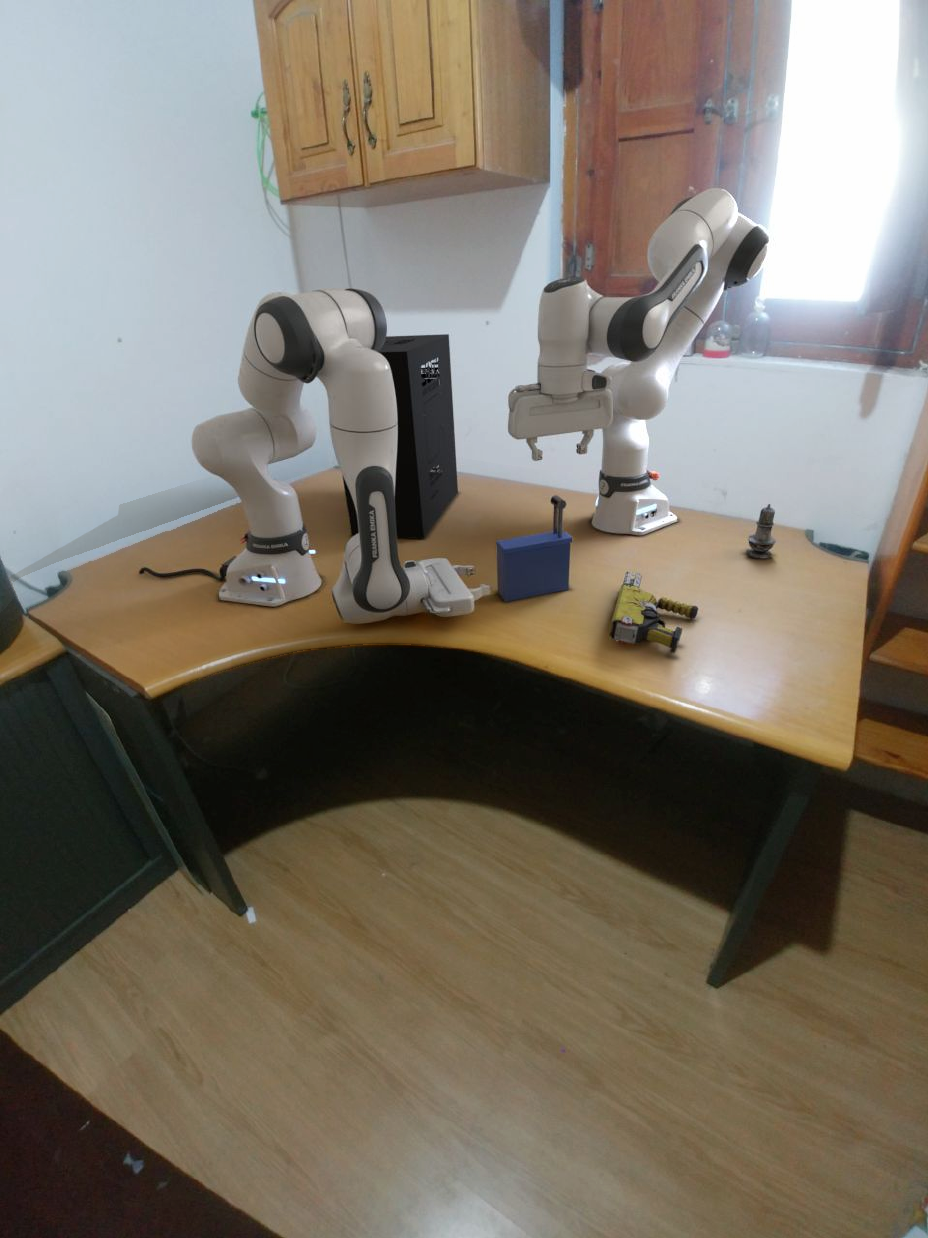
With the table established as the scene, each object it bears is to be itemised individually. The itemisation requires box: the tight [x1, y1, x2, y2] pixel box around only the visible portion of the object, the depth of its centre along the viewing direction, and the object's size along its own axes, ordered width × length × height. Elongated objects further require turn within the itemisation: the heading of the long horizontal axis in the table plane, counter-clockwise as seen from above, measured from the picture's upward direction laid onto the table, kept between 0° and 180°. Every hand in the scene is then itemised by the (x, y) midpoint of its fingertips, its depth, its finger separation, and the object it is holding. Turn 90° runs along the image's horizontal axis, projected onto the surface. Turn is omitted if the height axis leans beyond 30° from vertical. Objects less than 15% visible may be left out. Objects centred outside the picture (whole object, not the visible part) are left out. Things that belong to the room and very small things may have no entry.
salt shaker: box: [746, 503, 777, 559], centre depth 136 cm, size 6×6×12 cm
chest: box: [496, 543, 571, 603], centre depth 126 cm, size 14×5×11 cm, turn 108°
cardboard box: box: [341, 333, 459, 540], centre depth 164 cm, size 38×20×45 cm, turn 167°
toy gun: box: [608, 570, 699, 654], centre depth 115 cm, size 5×24×15 cm
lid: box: [495, 495, 573, 555], centre depth 122 cm, size 15×5×9 cm, turn 107°
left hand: (481, 579), depth 124 cm, fingers open, 8 cm apart
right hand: (559, 456), depth 116 cm, fingers open, 8 cm apart
